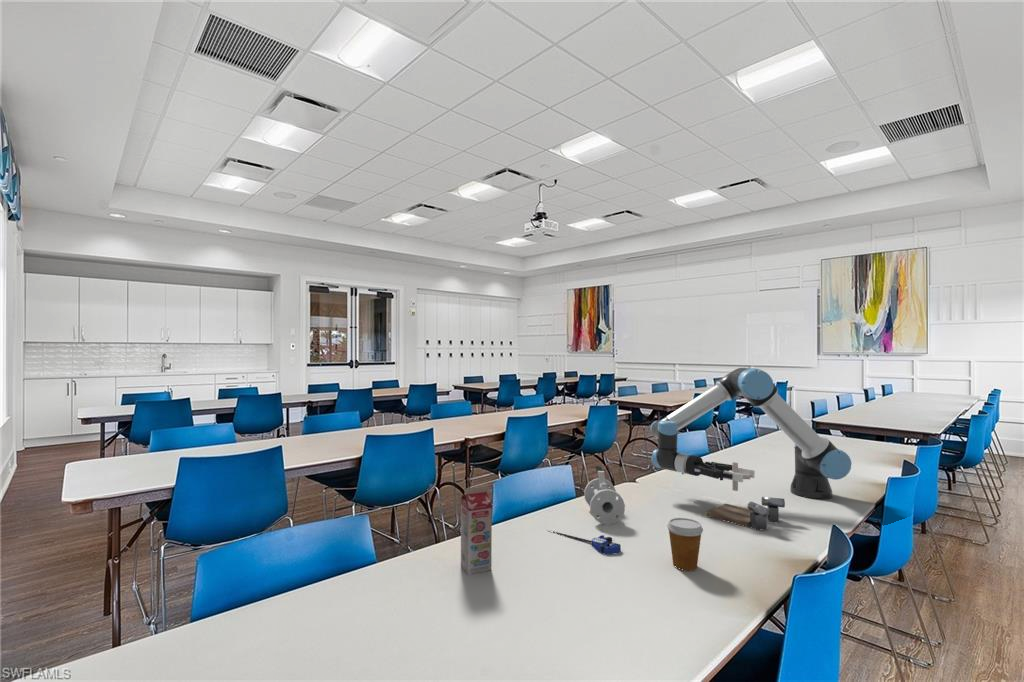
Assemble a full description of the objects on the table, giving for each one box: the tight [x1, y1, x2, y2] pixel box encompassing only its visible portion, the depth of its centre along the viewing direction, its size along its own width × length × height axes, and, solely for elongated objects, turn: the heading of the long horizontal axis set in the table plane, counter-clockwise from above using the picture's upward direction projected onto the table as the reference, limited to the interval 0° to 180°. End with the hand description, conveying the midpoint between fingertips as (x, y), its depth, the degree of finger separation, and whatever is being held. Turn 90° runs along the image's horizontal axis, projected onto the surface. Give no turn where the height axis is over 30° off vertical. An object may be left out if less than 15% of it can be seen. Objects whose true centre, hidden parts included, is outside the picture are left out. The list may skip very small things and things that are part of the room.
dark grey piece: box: [747, 501, 769, 531], centre depth 168 cm, size 7×4×8 cm, turn 11°
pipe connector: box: [723, 461, 751, 492], centre depth 180 cm, size 10×10×10 cm
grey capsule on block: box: [761, 496, 786, 524], centre depth 176 cm, size 7×4×8 cm, turn 71°
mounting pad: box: [705, 503, 753, 527], centre depth 180 cm, size 15×15×2 cm
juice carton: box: [460, 485, 493, 575], centre depth 137 cm, size 7×7×22 cm
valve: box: [584, 465, 626, 526], centre depth 182 cm, size 22×12×15 cm, turn 179°
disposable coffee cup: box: [666, 517, 704, 571], centre depth 138 cm, size 10×10×12 cm
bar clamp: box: [548, 530, 622, 555], centre depth 159 cm, size 32×2×10 cm
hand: (748, 476), depth 176 cm, fingers closed on pipe connector, 8 cm apart
